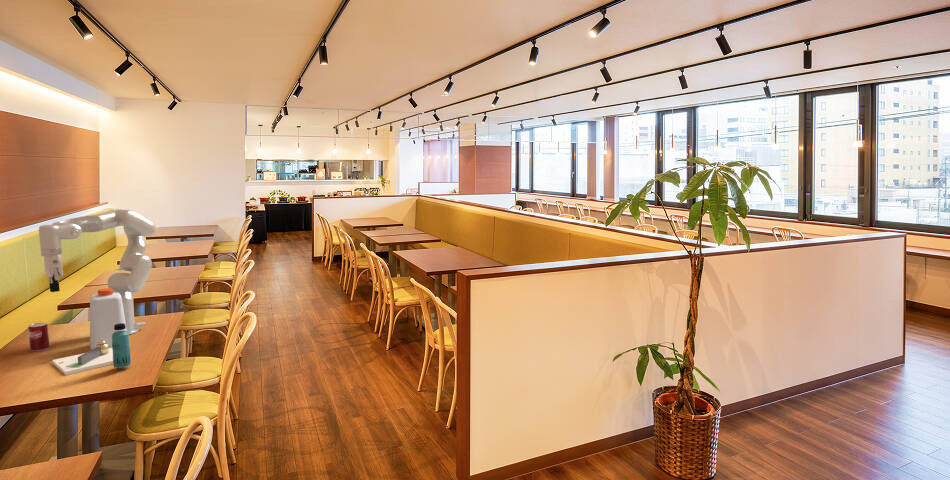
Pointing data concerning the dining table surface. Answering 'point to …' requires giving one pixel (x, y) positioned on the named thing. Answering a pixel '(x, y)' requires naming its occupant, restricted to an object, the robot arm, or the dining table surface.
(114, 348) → the beverage bottle
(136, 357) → the dining table surface
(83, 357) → the lever
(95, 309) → the plastic bottle
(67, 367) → the dial plate
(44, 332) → the soda can
